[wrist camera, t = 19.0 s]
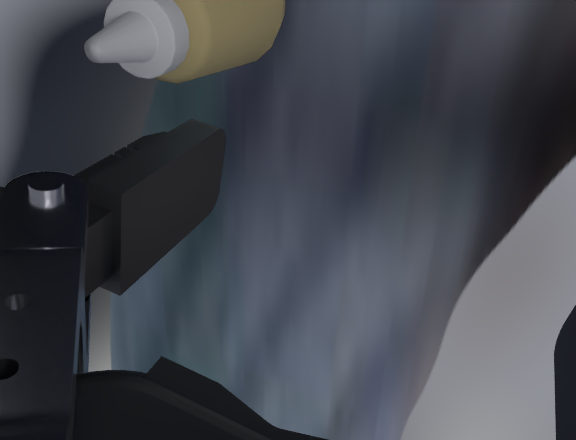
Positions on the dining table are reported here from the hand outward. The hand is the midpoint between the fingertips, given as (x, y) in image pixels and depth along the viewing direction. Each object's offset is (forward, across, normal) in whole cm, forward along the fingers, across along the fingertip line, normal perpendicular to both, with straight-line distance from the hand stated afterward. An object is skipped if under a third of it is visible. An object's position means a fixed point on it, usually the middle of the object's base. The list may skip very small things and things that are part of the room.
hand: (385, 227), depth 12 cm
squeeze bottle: (+30, +17, +4) cm, 35 cm away
